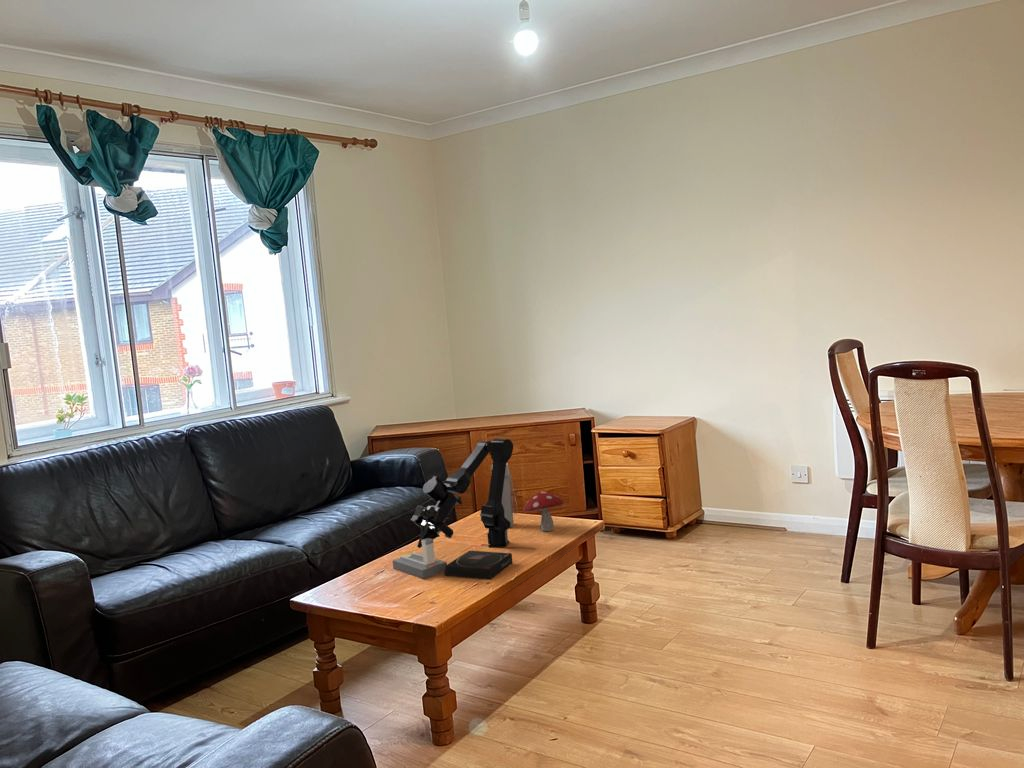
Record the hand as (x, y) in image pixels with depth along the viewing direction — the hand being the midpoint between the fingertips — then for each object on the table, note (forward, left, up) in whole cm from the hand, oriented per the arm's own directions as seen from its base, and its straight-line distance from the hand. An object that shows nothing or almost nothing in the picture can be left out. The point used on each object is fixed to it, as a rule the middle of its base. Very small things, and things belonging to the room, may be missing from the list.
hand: (418, 547), depth 270 cm
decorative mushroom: (-34, -47, -9) cm, 59 cm away
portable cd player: (-20, -2, -9) cm, 22 cm away
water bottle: (-17, -54, -9) cm, 58 cm away
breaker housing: (+1, -2, -9) cm, 9 cm away
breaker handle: (-4, +1, -5) cm, 6 cm away
